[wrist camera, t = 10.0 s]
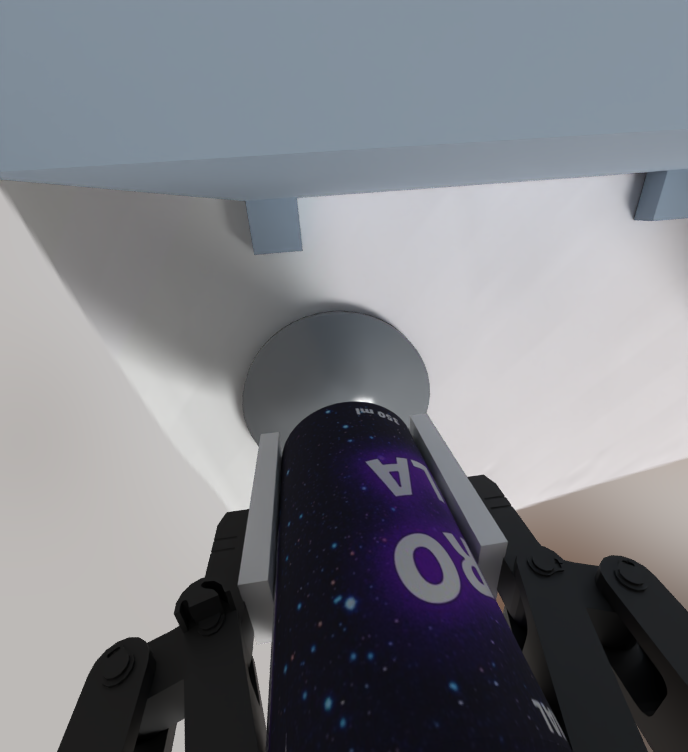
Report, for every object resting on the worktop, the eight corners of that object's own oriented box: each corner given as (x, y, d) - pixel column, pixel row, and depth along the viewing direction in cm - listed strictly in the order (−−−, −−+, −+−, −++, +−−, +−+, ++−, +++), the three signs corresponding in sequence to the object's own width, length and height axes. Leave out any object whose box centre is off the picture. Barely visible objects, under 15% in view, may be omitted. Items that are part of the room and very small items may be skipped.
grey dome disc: (225, 321, 17) (223, 325, 16) (429, 301, 17) (434, 304, 17) (261, 481, 21) (260, 488, 20) (423, 459, 22) (426, 465, 21)
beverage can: (394, 494, 17) (553, 955, 7) (279, 492, 16) (247, 1028, 6) (419, 394, 15) (728, 858, 4) (286, 386, 14) (257, 956, 3)
